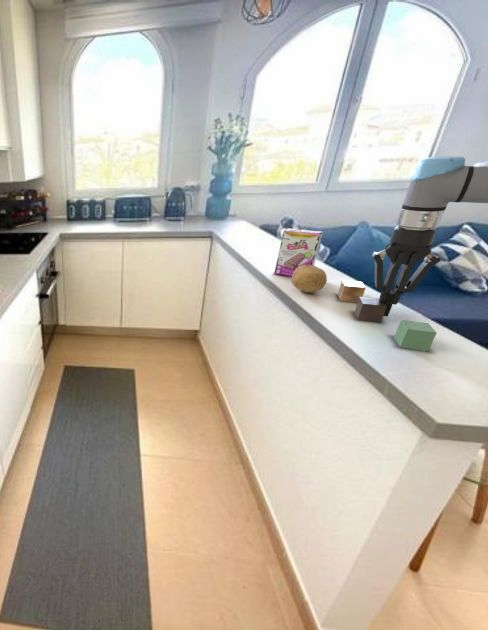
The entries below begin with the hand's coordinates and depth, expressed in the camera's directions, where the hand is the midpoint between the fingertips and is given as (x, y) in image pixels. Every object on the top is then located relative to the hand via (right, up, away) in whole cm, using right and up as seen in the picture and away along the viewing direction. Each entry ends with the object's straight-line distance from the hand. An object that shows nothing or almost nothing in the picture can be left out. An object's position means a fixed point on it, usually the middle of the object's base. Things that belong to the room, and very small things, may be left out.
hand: (383, 314), depth 93 cm
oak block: (+1, +5, +13) cm, 14 cm away
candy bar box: (-3, +14, +33) cm, 36 cm away
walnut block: (-3, -1, +2) cm, 3 cm away
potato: (-7, +8, +21) cm, 24 cm away
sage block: (-3, -7, -11) cm, 13 cm away
